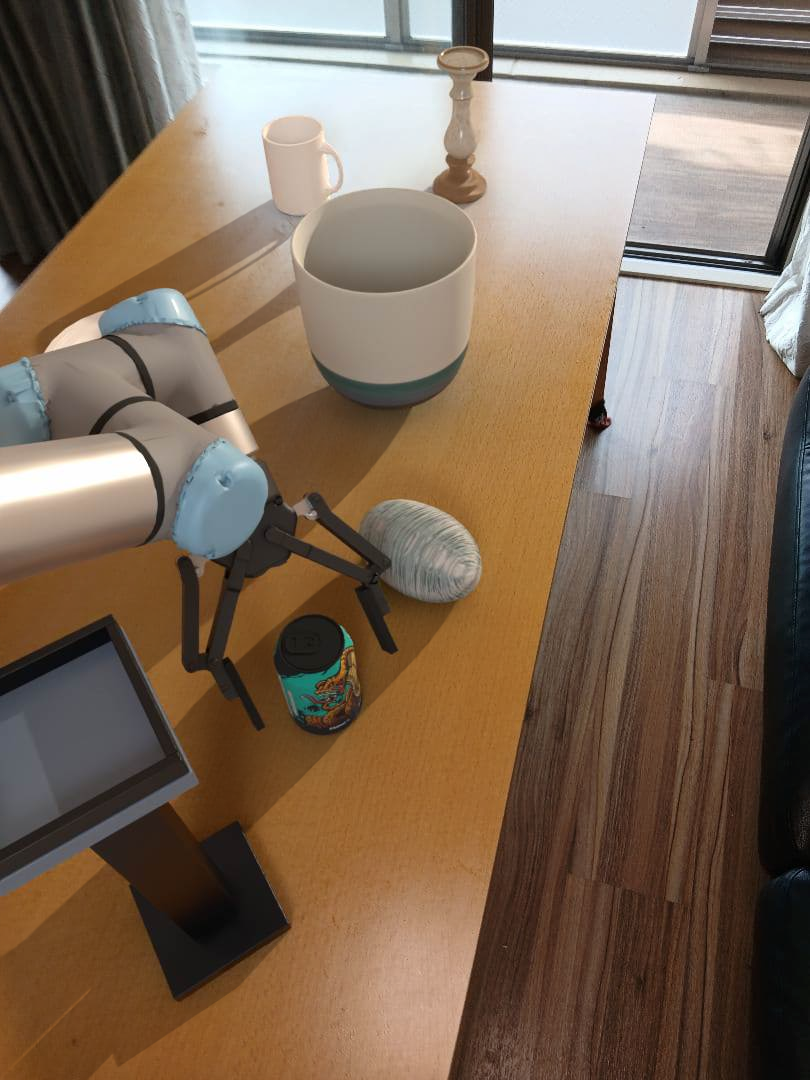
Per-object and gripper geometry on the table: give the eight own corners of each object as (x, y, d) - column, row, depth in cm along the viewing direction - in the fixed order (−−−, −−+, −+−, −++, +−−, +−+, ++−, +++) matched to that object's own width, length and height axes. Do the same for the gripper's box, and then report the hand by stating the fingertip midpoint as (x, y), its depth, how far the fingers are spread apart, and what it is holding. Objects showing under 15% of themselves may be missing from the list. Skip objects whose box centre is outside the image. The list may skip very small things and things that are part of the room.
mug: (277, 186, 136) (265, 115, 127) (348, 185, 136) (342, 113, 126) (270, 218, 130) (257, 146, 121) (345, 217, 130) (338, 144, 121)
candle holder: (497, 187, 134) (505, 54, 118) (462, 210, 130) (465, 75, 114) (457, 169, 138) (460, 38, 121) (422, 190, 134) (419, 58, 118)
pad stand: (178, 1002, 64) (-28, 880, 35) (133, 889, 69) (-79, 703, 41) (292, 928, 67) (185, 760, 38) (240, 825, 72) (112, 610, 44)
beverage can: (360, 739, 76) (349, 679, 67) (286, 738, 77) (265, 679, 67) (364, 672, 81) (354, 607, 71) (294, 672, 81) (275, 607, 71)
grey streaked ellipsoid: (347, 561, 90) (334, 553, 80) (391, 487, 91) (383, 470, 81) (454, 624, 89) (454, 623, 79) (498, 549, 89) (503, 539, 79)
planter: (284, 413, 103) (254, 266, 86) (358, 320, 114) (344, 173, 97) (431, 461, 97) (429, 314, 80) (494, 358, 108) (504, 209, 91)
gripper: (336, 418, 77) (425, 616, 81) (81, 536, 69) (194, 746, 73) (360, 410, 70) (457, 626, 74) (80, 539, 62) (205, 772, 66)
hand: (326, 687), depth 74 cm, fingers open, 13 cm apart
